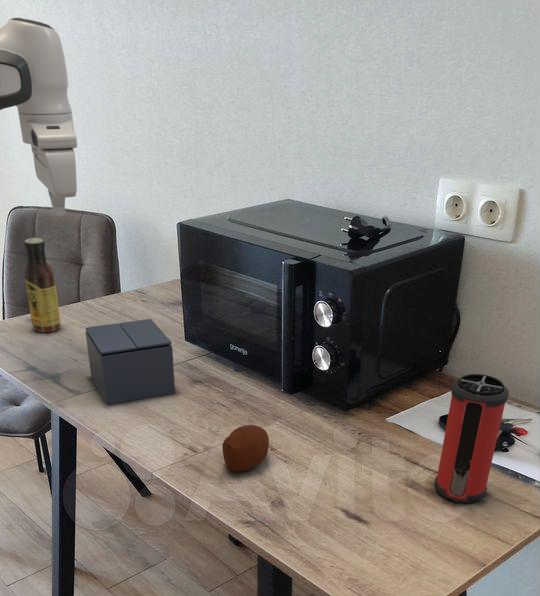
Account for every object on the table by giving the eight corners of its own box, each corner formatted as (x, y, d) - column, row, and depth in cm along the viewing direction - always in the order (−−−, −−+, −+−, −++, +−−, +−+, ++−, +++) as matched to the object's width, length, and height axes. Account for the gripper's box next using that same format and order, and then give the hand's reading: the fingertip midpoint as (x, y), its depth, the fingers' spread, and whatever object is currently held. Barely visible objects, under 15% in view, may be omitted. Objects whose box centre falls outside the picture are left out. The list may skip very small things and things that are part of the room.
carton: (107, 405, 129) (101, 352, 123) (91, 377, 139) (84, 327, 133) (175, 393, 133) (172, 342, 128) (154, 367, 143) (151, 318, 138)
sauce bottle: (31, 325, 161) (15, 237, 150) (58, 322, 163) (45, 234, 152) (35, 335, 156) (20, 244, 145) (64, 332, 158) (51, 242, 147)
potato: (209, 465, 112) (208, 429, 109) (252, 445, 118) (252, 410, 114) (239, 482, 108) (239, 446, 104) (281, 461, 114) (283, 425, 110)
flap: (101, 354, 123) (101, 352, 123) (85, 329, 133) (85, 327, 133) (136, 349, 126) (136, 347, 126) (118, 325, 135) (118, 323, 135)
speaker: (428, 496, 106) (448, 388, 96) (440, 472, 112) (459, 367, 102) (480, 509, 103) (505, 399, 93) (489, 483, 109) (513, 377, 99)
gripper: (19, 124, 128) (32, 204, 136) (39, 139, 113) (52, 228, 120) (55, 123, 130) (65, 201, 138) (78, 137, 115) (88, 225, 122)
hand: (59, 214), depth 129 cm, fingers closed
